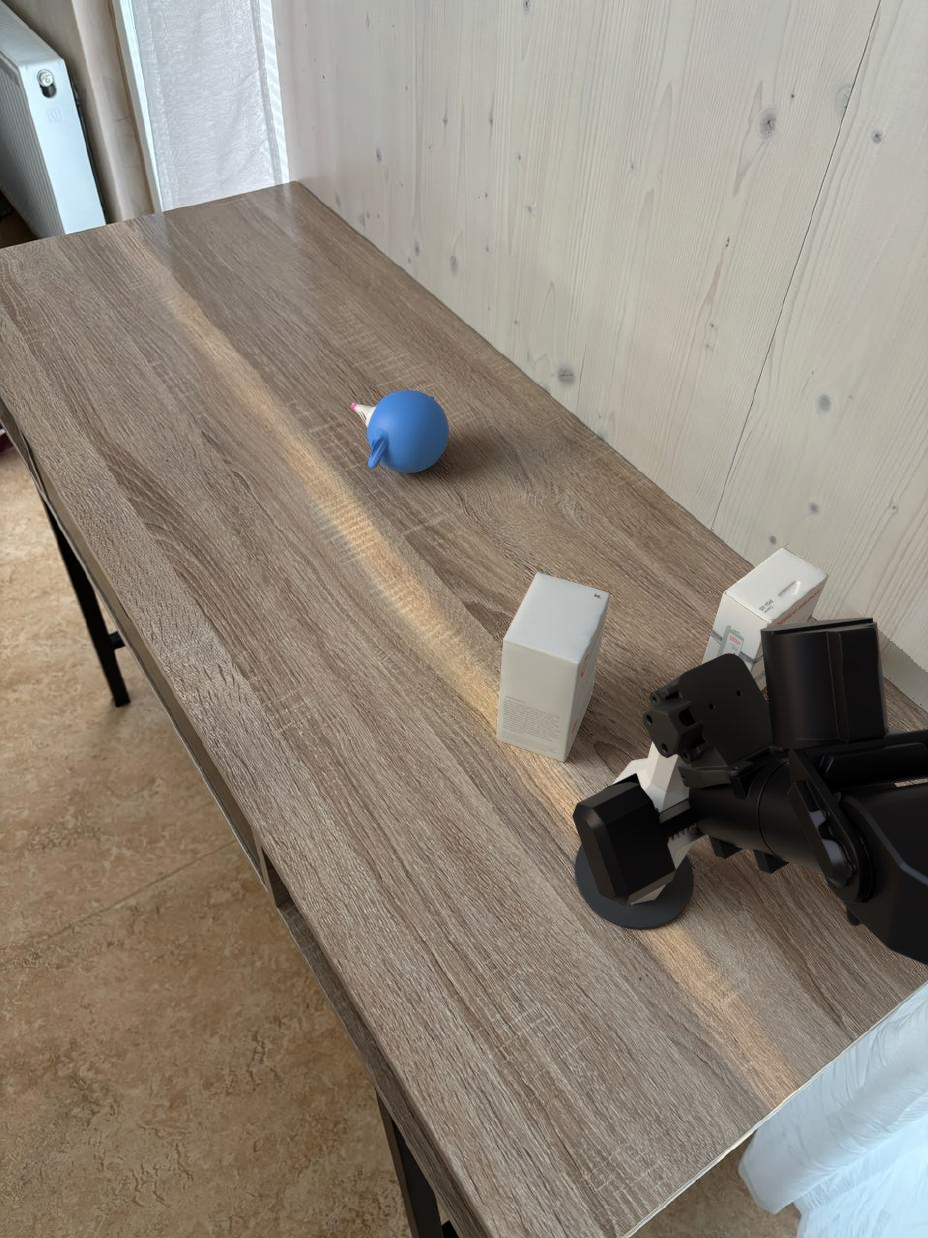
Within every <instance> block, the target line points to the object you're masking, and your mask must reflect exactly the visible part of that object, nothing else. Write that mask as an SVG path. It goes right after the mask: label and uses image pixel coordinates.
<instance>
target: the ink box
mask: <svg viewBox="0 0 928 1238" xmlns="http://www.w3.org/2000/svg"><path fill="white" fill-rule="evenodd" d="M829 576H830V574H829V573H827V572H825V571H824V570H822V569H821V568H819V567H818V566H816V565H815V564H813V563H812V562H810V561H809V560H807V559H805V558H804V557H802V556H801V555H799V554H797V553H796V552H794V551H792V550H790V549H789V548H786V547H781V548H779V549H778V550H776V551H775V552H774V553H772V554H771V555H770V556H768V557H767V558H766V559H765V560H763V561H762V562H761V563H760V564H758V565H757V566H755V567H754V568H753V569H751V570H750V571H749V572H748V573H746V575H744V576H742V577H741V578H740V579H739V580H737V581H736V582H735V583H733V585H731V586H730V587H729V588H727V589H726V590H724V591H723V593H722V596H721V599H720V601H719V602H720V603H719V605H718V609H717V612H716V615H715V619H714V621H713V625H712V629H711V632H710V635H709V639H708V642H707V644H706V648H705V651H704V655H703V658H702V660H701V664H704V663H706V662H708V661H710V660H712V659H714V658H717V657H719V656H721V655H723V654H727V653H732V654H735V655H737V656H739V657H740V658H741V659H742V660H743V661H744V662H745V664H746V666H747V667H748V669H749V671H750V673H751V674H752V676H753V678H754V680H755V681H756V683H757V685H758V687H759V689H760V690H761V692H762V691H763V690H764V689H765V688H767V687H766V678H765V669H764V660H763V651H762V642H761V634H760V630H761V629H763V628H768V627H773V626H779V625H786V624H794V623H802V622H811V618H812V617H813V614H814V612H815V610H816V607H817V605H818V602H819V600H820V598H821V596H822V593H823V590H824V588H825V586H826V584H827V581H828V578H829Z"/></svg>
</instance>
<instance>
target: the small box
mask: <svg viewBox="0 0 928 1238" xmlns="http://www.w3.org/2000/svg"><path fill="white" fill-rule="evenodd" d="M610 598H611V593H610V592H607V591H604V590H601V589H598V588H594V587H591V586H588V585H585V584H581V583H578V582H574V581H570V580H567V579H563V578H561V577H556V576H553V575H549V574H546V573H545V574H544V573H542V572H538V571H536V572H535V573H534V576H533V577H532V579H531V582H530V583H529V585H528V587H527V590H526V592H525V594H524V596H523V598H522V599H521V601H520V603H519V606H518V608H517V609H516V612H515V613H514V616H513V617H512V620H511V621H510V624H509V626H508V628H507V630H506V632H505V633H504V636H503V638H502V650H501V663H500V665H501V666H500V679H499V681H500V682H499V694H498V708H497V721H496V734H495V739H496V740H497V741H498V742H501V743H503V744H508V745H510V746H514V747H516V748H520V749H522V750H525V751H528V752H531V753H534V754H537V755H539V756H543V757H546V758H549V759H552V760H555V761H557V762H561V763H565V762H567V759H568V757H569V754H570V752H571V750H572V747H573V745H574V742H575V740H576V738H577V735H578V732H579V729H580V727H581V724H582V722H583V720H584V717H585V714H586V713H587V712H586V711H587V709H588V707H589V704H590V702H591V698H592V696H593V690H594V686H595V685H594V684H595V678H596V672H597V667H598V660H599V656H600V655H599V654H600V652H601V651H600V650H601V646H602V641H603V636H604V629H605V625H606V618H607V613H608V608H609V602H610Z"/></svg>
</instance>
